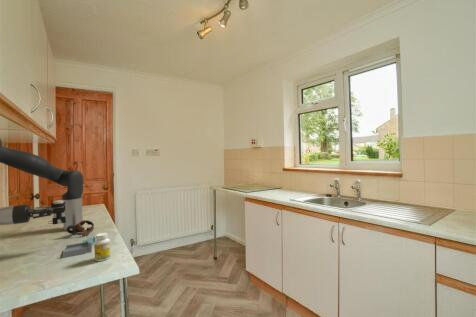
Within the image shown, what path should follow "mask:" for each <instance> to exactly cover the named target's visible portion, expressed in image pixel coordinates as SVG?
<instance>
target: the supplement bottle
mask: <svg viewBox="0 0 476 317" xmlns="http://www.w3.org/2000/svg"><path fill="white" fill-rule="evenodd" d="M108 237H109V236H108V233H107V232H101V233H97V234H95V242H94V243H93V246H94V260H95V261H96V262H104V261H107V260H109V259H111V239H110V238H108Z"/></svg>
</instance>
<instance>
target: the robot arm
mask: <svg viewBox="0 0 476 317" xmlns="http://www.w3.org/2000/svg"><path fill="white" fill-rule="evenodd" d="M0 163H1V164H4V165H6V166H8V167H11V168H13V169H16V170H19V171H22V172H24V173H27V174H30V175H33V176H36V177H39V178H43V179H47V180H50V181H52V182H54V183H55V184H57V185H60V186H62V187H66V188H67V191H66V192H64V193H63V194H62V196H61V198H62V199H61V200H63V202H66V203H65V206H63V207H64V208H52V205H50V206H49V205H47V206H36V207H34V208H31V207H30V205H29V204H20V205H19V204H18V205H9V206H4V207H0V226H10V225H17V224H24V223H28V222H29V221H30V219H31V218H32V219H40V218H45V217H50V216H54V214H57V213H64V215H65V217H66V223H62V225H63V231H65V232H67V230H66V228H67V227H68V226H70V225H76V224H78V223H79V222H80V221H83V220H84V219H83V218H84V216H83V200H82V199H83V198H82V196H83V193H84V176H83V173H82V172H81V171H79V170H65V169H60V168H58V167H55V166H53V164H51V163H50V161H48V160H47V159H45V158H43V157H41V156H39V155H36V154H34V153H31V152H28V151H25V150H19V149H14V148H9V147H5V146H4V145H3V141H2V139H1V138H0ZM82 227H84V225H82ZM70 230H71V231H72V229H70Z"/></svg>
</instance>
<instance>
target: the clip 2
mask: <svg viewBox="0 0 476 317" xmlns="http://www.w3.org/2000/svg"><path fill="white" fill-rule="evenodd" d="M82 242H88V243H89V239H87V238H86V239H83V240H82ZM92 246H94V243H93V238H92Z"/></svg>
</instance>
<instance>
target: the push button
mask: <svg viewBox="0 0 476 317" xmlns="http://www.w3.org/2000/svg"><path fill="white" fill-rule="evenodd" d="M65 203H66V202H63V200H62V199H59V200H54V201H53V202H52V203H50V206H52V208H64V207H63V206H65ZM63 223H66V217H65V215H64V213H57V214H54V213H53V215H52V220H49V221H47V224H48V225H51V224H52V225H60V224H63Z"/></svg>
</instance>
